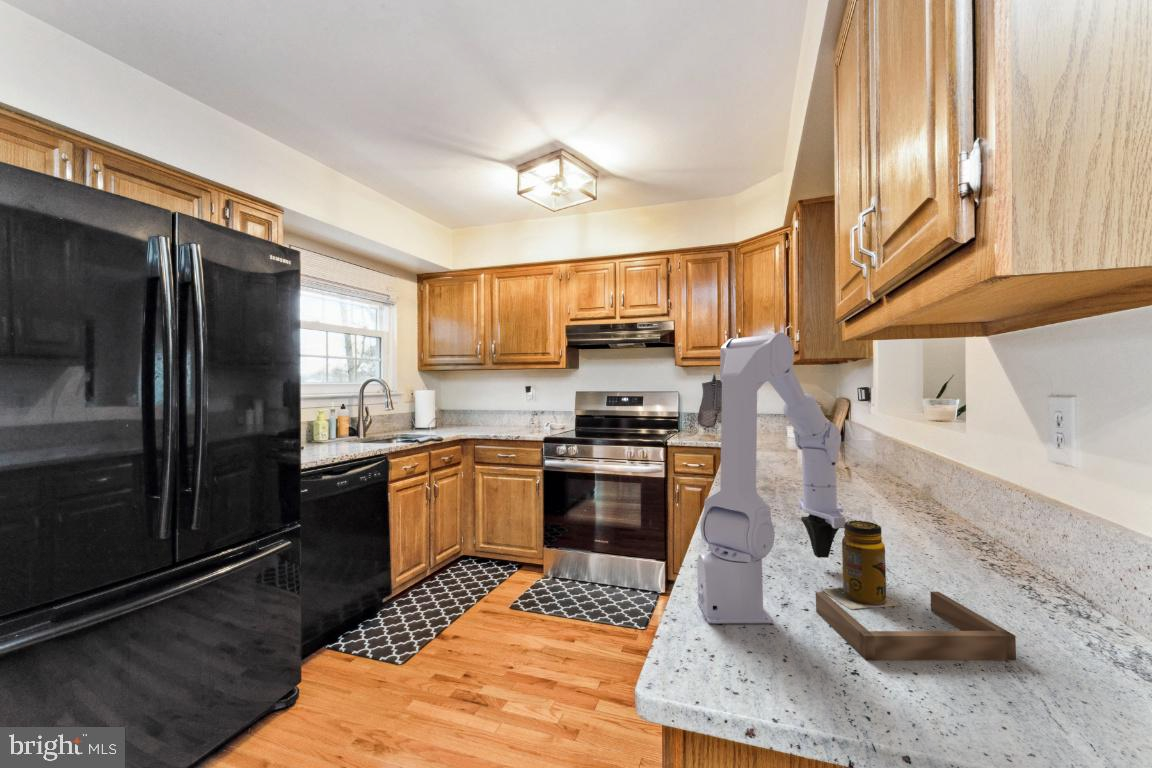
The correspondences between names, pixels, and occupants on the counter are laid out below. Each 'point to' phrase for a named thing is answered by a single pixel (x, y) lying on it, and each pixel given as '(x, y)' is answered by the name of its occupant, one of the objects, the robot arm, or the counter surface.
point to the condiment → (862, 567)
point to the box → (924, 635)
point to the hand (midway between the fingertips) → (821, 556)
